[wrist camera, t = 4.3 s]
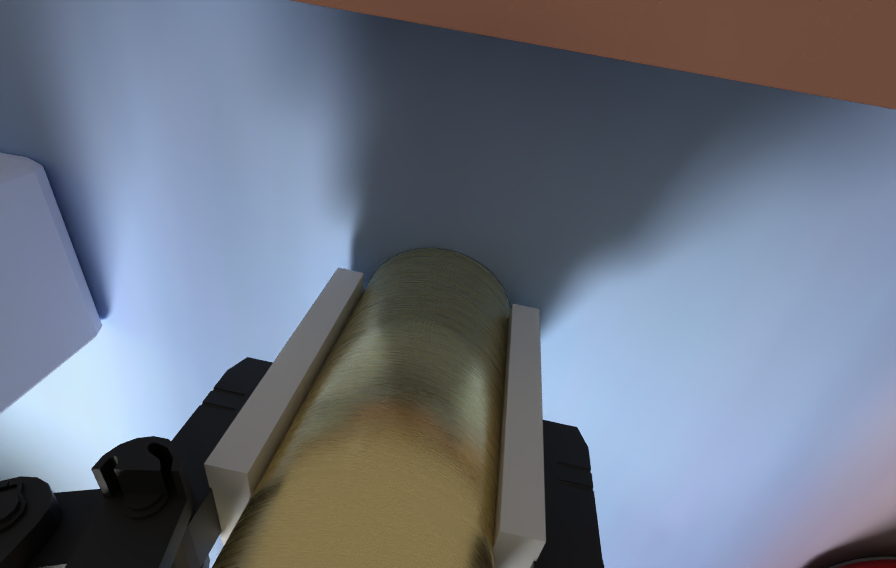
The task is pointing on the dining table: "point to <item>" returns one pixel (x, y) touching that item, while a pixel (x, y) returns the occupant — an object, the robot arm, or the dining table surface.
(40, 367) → the soap bottle
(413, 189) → the dining table surface
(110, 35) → the dining table surface
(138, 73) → the dining table surface
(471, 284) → the brass cylinder
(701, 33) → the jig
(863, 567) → the beverage can
